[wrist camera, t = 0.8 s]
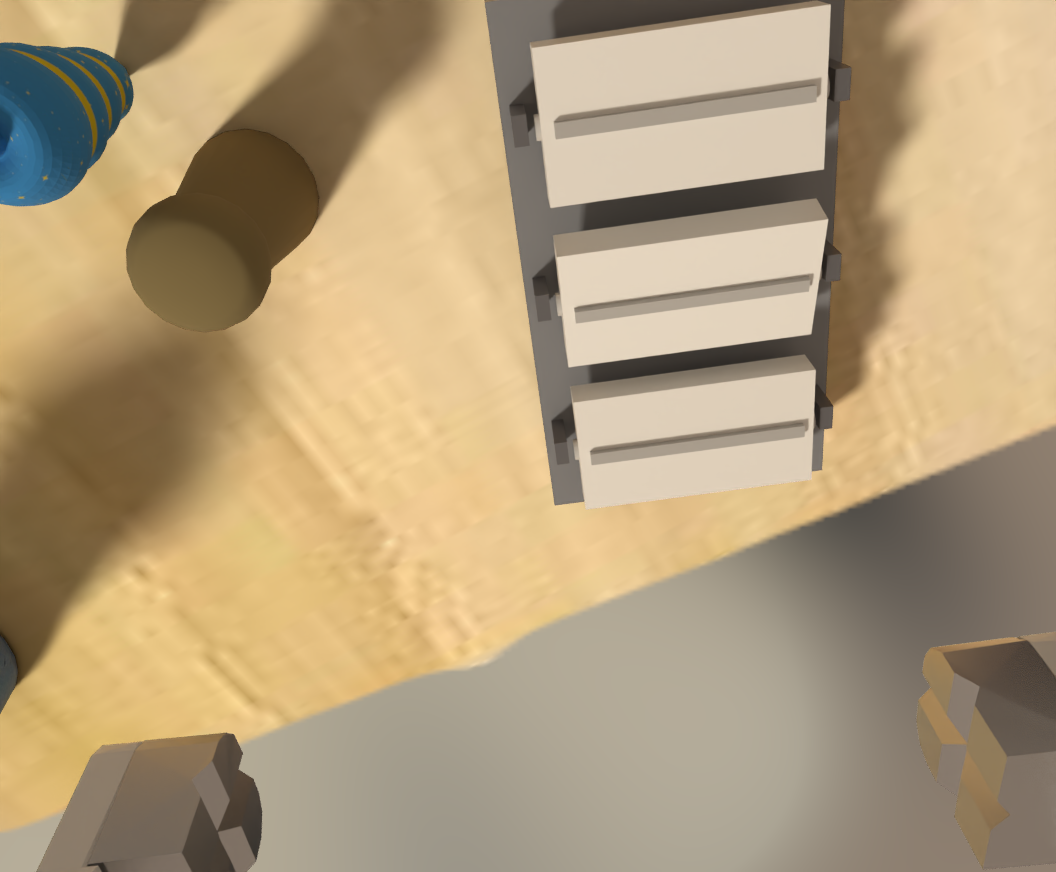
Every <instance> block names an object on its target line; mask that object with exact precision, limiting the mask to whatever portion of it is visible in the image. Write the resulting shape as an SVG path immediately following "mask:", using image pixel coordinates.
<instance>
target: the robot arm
mask: <svg viewBox="0 0 1056 872" xmlns="http://www.w3.org/2000/svg"><path fill="white" fill-rule="evenodd" d="M922 673H923V675H924V677H925V679H926V680H927V682H928V684H929V685H930V687H931V688H930V689H929V690H928V691H927V692H926V693H925V694H924V695H923V696H922V697H921V698H920V699H919V700H918V709H917V719H916V722H917V729H918V735H919V742H920V746H921V749H922V751H923V755H924V757H925V760H926V763H927V765H928V767H929V769H930V771H931V773H932V775H933V777H934V779H935V781H936V782H937V783H938V784H940V785H941V786H943V787H944V788H945V789H947V790H948V791H950V792H951V793H953V794H954V795H956V796H957V803H956V808H955V815H954V817H955V819H956V821H957V823H958V825H959V826H960V828H961V830H962V832H963V834H964V836H965V838H966V840H967V841H968V843H969V845H970V847H971V849H972V851H973V853H974V854H975V856H976V858H977V860H978V862H979V864H980V866H981V867H982V869H983V870H984V869H996V868H1006V867H1018V866H1030V865H1042V864H1054V863H1056V632H1051V633H1043V634H1035V635H1027V636H1019V637H1017V638H1014V637H1010V638H1002V639H995V640H986V641H979V642H971V643H964V644H956V645H949V646H941V647H933V648H930V649H929V651H928V652H927V654H926V655H925V657H924V664H923V670H922ZM242 755H243V752H242V750H241V748H240V746H239V744H238V742H237V740H236V738H235V735H234V734H229V733H220V734H209V735H198V736H188V737H177V738H166V739H155V740H145V741H142V742H131V743H121V744H110V745H102V746H101V747H100V748H99V749H98V750H97V751H96V752H95V753H94V754H93V755H92V756H91V758H90V760H89V762H88V764H87V766H86V768H85V770H84V772H83V774H82V776H81V779H80V781H79V783H78V785H77V787H76V789H75V791H74V793H73V795H72V798H71V800H70V802H69V804H68V806H67V808H66V810H65V812H64V814H63V817H62V819H61V821H60V823H59V825H58V827H57V829H56V831H55V833H54V836H53V838H52V840H51V842H50V844H49V846H48V848H47V850H46V853H45V855H44V857H43V859H42V861H41V863H40V865H39V867H38V869H37V871H36V872H247V871H248V870H249V869H250V867H251V866H252V865H253V864H254V863H255V862H256V860H257V855H258V851H259V846H260V841H261V833H262V808H261V802H260V796H259V792H258V790H257V787H256V785H255V782H254V779H253V778H251V777H249V776H248V775H246V774H245V773H243V772H242V771H240V770H238V769H239V765H240V762H241V758H242Z"/></svg>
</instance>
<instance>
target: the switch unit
mask: <svg viewBox="0 0 1056 872" xmlns="http://www.w3.org/2000/svg"><path fill="white" fill-rule="evenodd" d="M809 1H816V0H485V8H486V15H487V22H488V29H489V36H490V44H491V51H492V58H493V65H494V72H495V80H496V87H497V94H498V101H499V108H500V115H501V123H502V130H503V137H504V144H505V151H506V159H507V166H508V173H509V180H510V187H511V195H512V202H513V209H514V216H515V223H516V231H517V238H518V245H519V252H520V259H521V266H522V274H523V281H524V288H525V295H526V302H527V310H528V317H529V324H530V331H531V338H532V346H533V353H534V360H535V367H536V374H537V381H538V389H539V396H540V403H541V410H542V417H543V425H544V432H545V439H546V446H547V453H548V461H549V468H550V475H551V482H552V489H553V496H554V504H555V505H562V504H569V503H577V502H584V496H583V490H582V481H581V473H580V464H579V460H575V454H574V447H573V439H576V430H575V422H574V414H573V405H572V397H571V388H570V386H576V385H584V384H591V383H598V382H606V381H613V380H621V379H628V378H635V377H643V376H650V375H657V374H665V373H672V372H679V371H687V370H694V369H701V368H709V367H716V366H723V365H731V364H738V363H745V362H753V361H760V360H767V359H775V358H782V357H789V356H797V355H804V354H805V356H806V357H807V358H808V360H809V361H810V362H811V364H812V365H813V367H814V368H815V369H816V377H815V401H814V413H815V419H816V425H815V428H813V450H812V471H818V470H822V459H823V439H824V429H829V428H832V420H833V405H832V404H831V402H830V401H829V400H828V398H827V397H826V376H827V356H828V335H829V314H830V293H831V281H838V280H840V270H841V253H840V252H839V251H838V250H837V249H836V248H835V247H834V246H833V231H834V210H835V190H836V169H837V148H838V127H839V106H840V101H845V100H850V84H851V67H850V66H847V65H845V64H843V63H842V44H843V23H844V3H845V0H817V1H821V2H824V3H828V4H831V11H830V36H829V60H828V76H829V81H830V92H829V96H828V99H827V109H826V133H825V158H824V169H823V170H816V171H809V172H802V173H795V174H788V175H781V176H774V177H767V178H760V179H753V180H745V181H738V182H731V183H724V184H717V185H710V186H703V187H696V188H689V189H682V190H675V191H668V192H661V193H654V194H646V195H639V196H632V197H625V198H618V199H611V200H604V201H597V202H590V203H583V204H576V205H569V206H562V207H555V208H550V204H549V200H548V194H547V185H546V177H545V168H544V160H543V151H542V143H541V141H537V139H536V132H535V124H534V114H538V109H537V101H536V92H535V84H534V75H533V67H532V58H531V50H530V42H536V41H542V40H549V39H556V38H563V37H570V36H577V35H583V34H590V33H597V32H604V31H611V30H618V29H624V28H631V27H638V26H645V25H652V24H659V23H665V22H672V21H679V20H686V19H693V18H700V17H706V16H713V15H720V14H727V13H734V12H741V11H747V10H754V9H761V8H768V7H775V6H782V5H788V4H795V3H802V2H809ZM815 198H816V199H817V200H818V202H819V204H820V206H821V207H822V209H823V211H824V213H825V214H826V216H827V218H828V225H827V231H826V238H825V245H824V252H823V258H822V277H821V279H820V280H819V285H818V292H817V298H816V305H815V312H814V319H813V325H812V332H811V334H809V335H802V336H795V337H787V338H780V339H773V340H766V341H758V342H751V343H744V344H736V345H729V346H722V347H714V348H707V349H700V350H692V351H685V352H678V353H670V354H663V355H656V356H648V357H641V358H634V359H627V360H619V361H612V362H605V363H597V364H590V365H583V366H575V367H568V361H567V355H566V349H565V341H564V332H563V323H562V316H558V313H557V306H556V298H555V293H559V286H558V277H557V267H556V258H555V249H554V239H553V235H559V234H566V233H573V232H580V231H587V230H594V229H601V228H608V227H615V226H623V225H630V224H637V223H644V222H651V221H658V220H665V219H672V218H679V217H687V216H694V215H701V214H708V213H715V212H722V211H729V210H736V209H743V208H751V207H758V206H765V205H772V204H779V203H786V202H793V201H800V200H807V199H815Z"/></svg>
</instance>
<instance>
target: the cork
mask: <svg viewBox="0 0 1056 872" xmlns="http://www.w3.org/2000/svg"><path fill="white" fill-rule="evenodd" d="M318 203H319V195H318V191H317V187H316V183H315V179H314V176H313V174H312V173H311V171H310V169H309V168H308V166H307V164H306V162H305V161H304V159H303V158H302V157H301V156H300V155H299V154H298V153H297V152H296V151H295V150H294V149H293V148H292V147H291V146H290V145H288V144H287V143H286V142H284V141H282V140H280V139H278V138H276V137H274V136H272V135H270V134H269V133H265V132H260V131H255V130H249V129H241V130H233V131H226V132H224V133H222V134H220V135H218V136H216V137H214V138H212V139H210V140H208V141H207V142H206V143H205V144H204V145H203V147H202V148H201V149H200V150H199V151H198V152H197V153H196V154H195V156H194V158H193V160H192V162H191V164H190V166H189V168H188V170H187V172H186V174H185V176H184V179H183V181H182V183H181V185H180V187H179V189H178V191H177V193H176V195H174V196H170V197H168V198H166V199H164V200H162V201H160V202H158V203H156V204H154V205H153V206H151V207H150V208H149V209H148V210H147V211H146V212H145V213H144V214H143V215H142V217H141V218H140V219H139V220H138V221H137V222H136V223H135V225H134V227H133V230H132V233H131V235H130V238H129V241H128V244H127V249H126V259H127V272H128V274H129V277H130V280H131V283H132V285H133V288H134V290H135V291H136V293H137V294H138V295H139V297H140V298H141V299H142V301H143V302H144V304H145V305H146V306H147V307H148V308H149V309H150V310H152V311H153V312H154V313H156V314H157V315H158V316H159V317H161V318H162V319H163V320H165V321H167V322H169V323H171V324H174V325H176V326H178V327H180V328H183V329H187V330H194V331H200V332H210V331H218V330H225V329H227V328H229V327H231V326H233V325H235V324H237V323H239V322H241V321H243V320H245V319H247V318H248V317H249V316H250V315H251V314H252V313H253V312H254V311H255V310H256V309H257V308H258V307H259V306H260V304H261V302H262V300H263V298H264V296H265V294H266V291H267V289H268V287H269V285H270V282H271V269H272V268H273V267H274V266H275V265H277V264H278V263H279V262H280V261H281V260H282V259H283V258H285V257H286V256H287V255H288V254H289V253H290V252H292V251H293V250H294V249H295V248H296V247H297V246H298V245H299V244H300V243H301V242H302V241H303V240H304V239H305V238H306V237H307V236H308V235H309V234H310V232H311V230H312V228H313V225H314V223H315V221H316V219H317V215H318Z"/></svg>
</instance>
